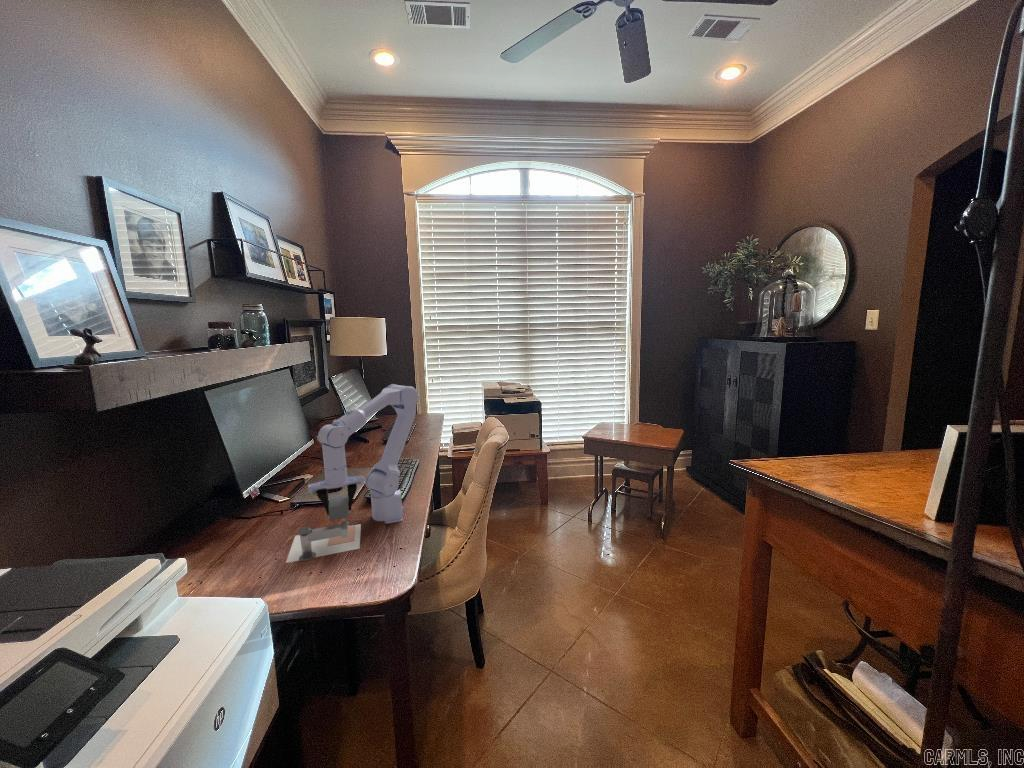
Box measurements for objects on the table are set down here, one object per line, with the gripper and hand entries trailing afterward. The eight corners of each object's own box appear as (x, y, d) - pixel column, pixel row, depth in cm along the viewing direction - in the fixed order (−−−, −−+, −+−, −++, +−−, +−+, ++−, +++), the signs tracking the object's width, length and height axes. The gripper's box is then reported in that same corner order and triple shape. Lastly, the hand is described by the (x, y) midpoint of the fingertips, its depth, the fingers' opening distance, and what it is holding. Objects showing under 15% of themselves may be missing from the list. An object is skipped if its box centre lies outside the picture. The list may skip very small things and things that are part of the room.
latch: (349, 552, 103) (346, 526, 102) (299, 562, 99) (296, 535, 98) (349, 542, 108) (347, 517, 107) (301, 551, 104) (299, 526, 102)
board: (361, 526, 119) (360, 523, 118) (359, 553, 105) (359, 550, 104) (295, 538, 112) (295, 535, 112) (285, 568, 99) (284, 564, 98)
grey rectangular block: (348, 506, 115) (347, 494, 114) (349, 517, 109) (347, 504, 108) (330, 510, 113) (329, 497, 112) (329, 521, 107) (328, 507, 106)
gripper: (362, 458, 115) (365, 500, 117) (307, 465, 109) (312, 510, 112) (363, 465, 109) (366, 510, 111) (305, 474, 103) (310, 521, 105)
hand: (339, 511), depth 111 cm, fingers closed on grey rectangular block, 5 cm apart
